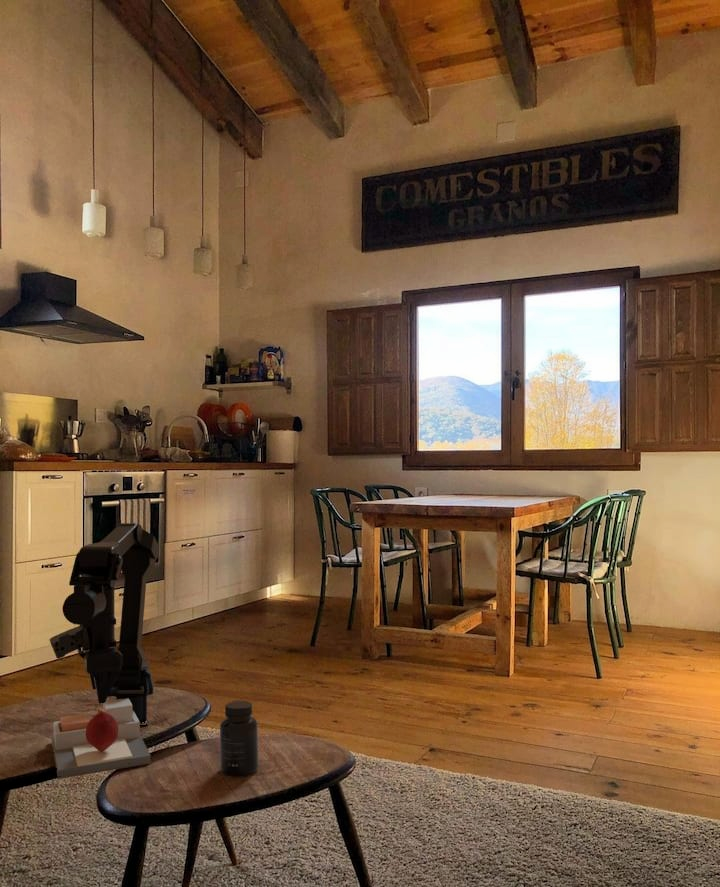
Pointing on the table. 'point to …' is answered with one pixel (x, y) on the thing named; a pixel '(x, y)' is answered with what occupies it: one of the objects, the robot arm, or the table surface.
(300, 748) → the table surface
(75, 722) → the reddish-brown block
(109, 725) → the onion
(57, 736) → the board
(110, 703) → the block
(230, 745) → the supplement bottle
